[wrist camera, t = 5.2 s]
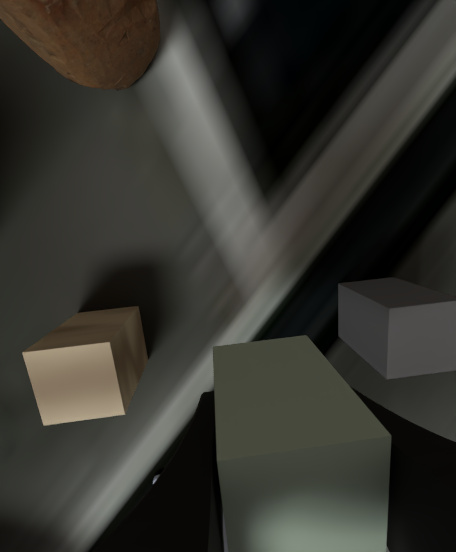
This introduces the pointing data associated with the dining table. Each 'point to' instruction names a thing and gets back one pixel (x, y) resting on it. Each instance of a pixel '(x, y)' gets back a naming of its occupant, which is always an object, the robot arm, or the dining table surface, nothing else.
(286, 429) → the sage block
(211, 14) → the dining table surface
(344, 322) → the charcoal block
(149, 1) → the brown rough elongated lump
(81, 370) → the beech block
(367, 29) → the dining table surface
